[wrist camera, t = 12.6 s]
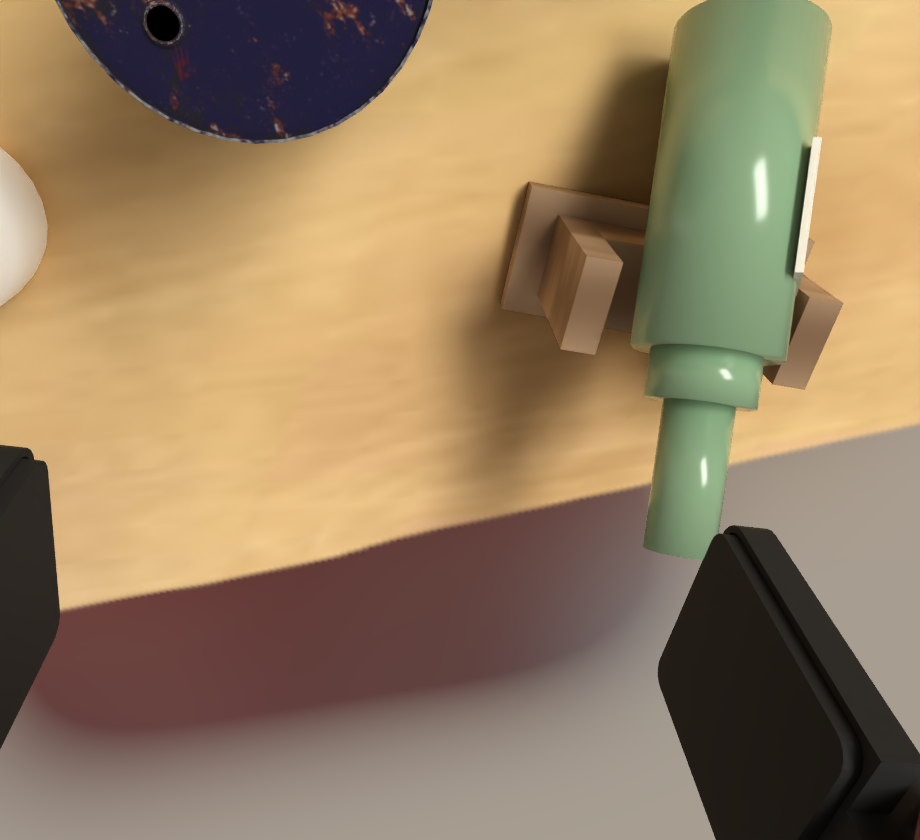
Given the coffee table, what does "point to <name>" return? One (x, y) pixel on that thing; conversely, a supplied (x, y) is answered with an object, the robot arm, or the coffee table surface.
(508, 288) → the cradle
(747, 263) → the green bottle
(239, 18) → the storage jar
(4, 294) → the bottle
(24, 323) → the coffee table surface
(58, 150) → the coffee table surface
